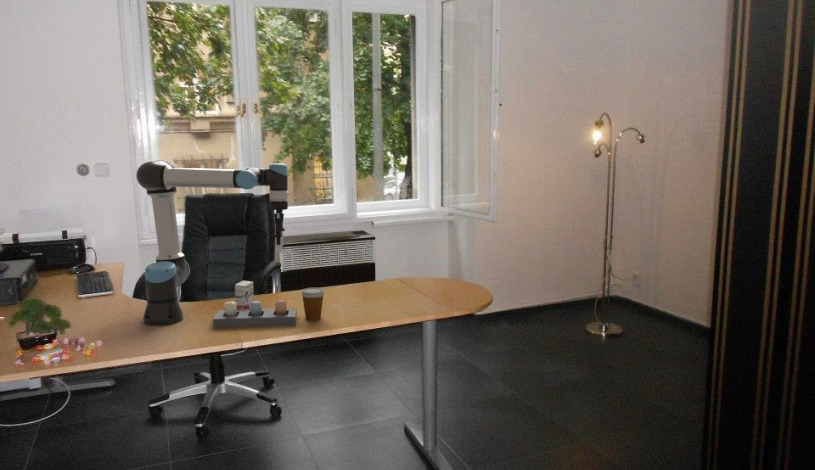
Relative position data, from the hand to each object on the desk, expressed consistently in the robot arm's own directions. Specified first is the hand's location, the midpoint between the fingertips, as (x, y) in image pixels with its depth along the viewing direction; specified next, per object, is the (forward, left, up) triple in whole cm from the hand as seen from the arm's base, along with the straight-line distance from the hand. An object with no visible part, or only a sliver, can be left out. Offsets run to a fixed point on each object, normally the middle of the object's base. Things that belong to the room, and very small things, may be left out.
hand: (279, 249), depth 255 cm
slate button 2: (-9, -16, -24) cm, 30 cm away
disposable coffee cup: (+14, -13, -27) cm, 33 cm away
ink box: (-16, +3, -27) cm, 32 cm away
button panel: (-9, -16, -27) cm, 33 cm away
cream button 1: (-19, -16, -24) cm, 34 cm away
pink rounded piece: (+1, -16, -24) cm, 29 cm away
